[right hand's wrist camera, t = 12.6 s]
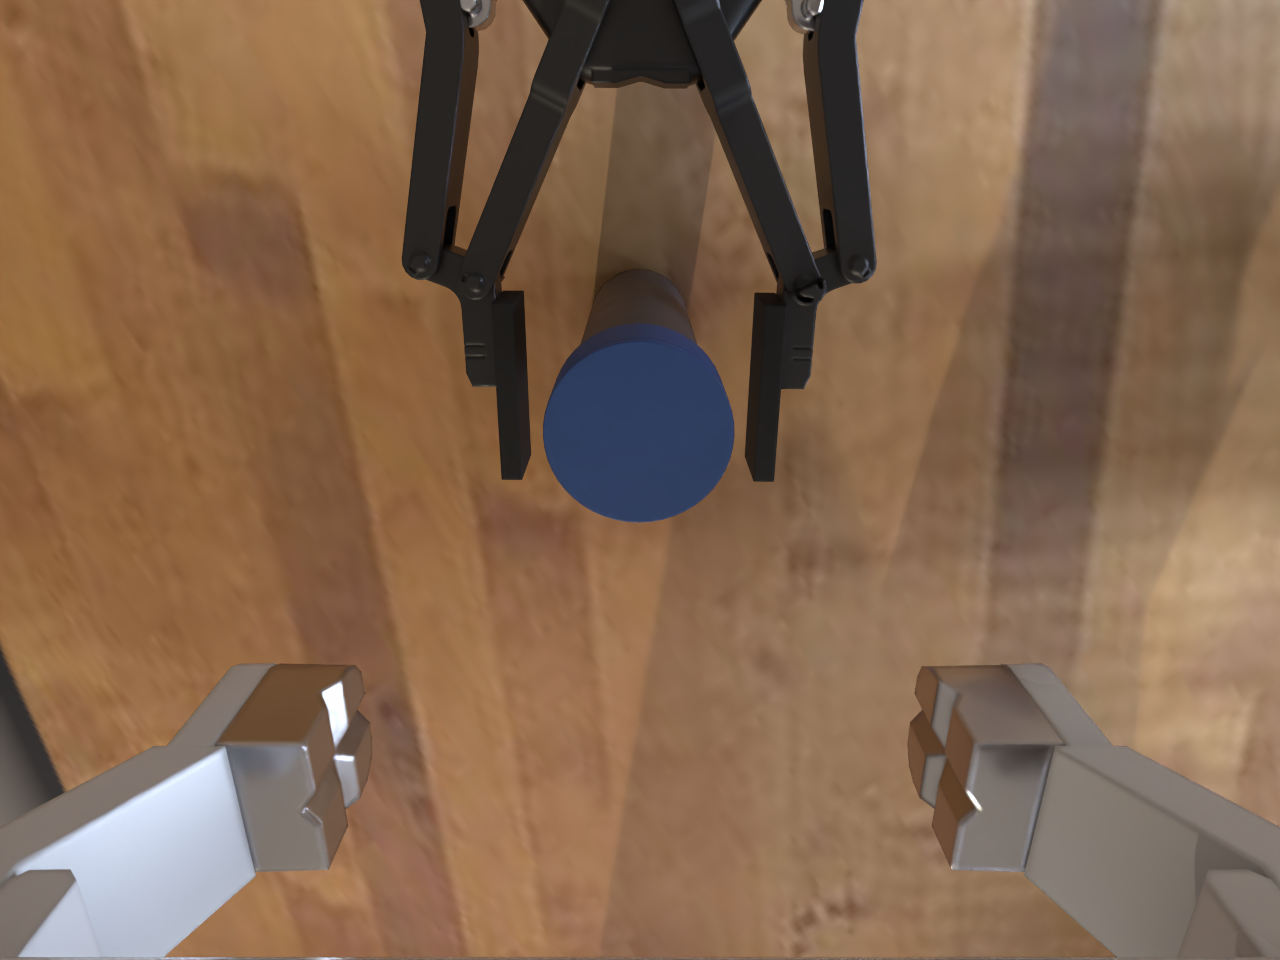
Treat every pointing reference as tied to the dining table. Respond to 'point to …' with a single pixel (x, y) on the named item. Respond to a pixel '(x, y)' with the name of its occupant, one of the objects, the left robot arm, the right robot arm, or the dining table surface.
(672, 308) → the dark gray bottle
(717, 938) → the dining table surface
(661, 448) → the lid
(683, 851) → the dining table surface
